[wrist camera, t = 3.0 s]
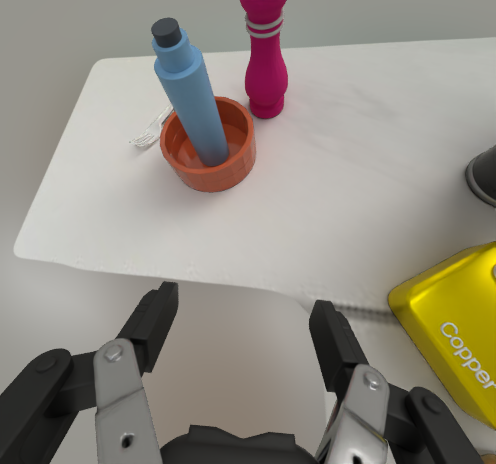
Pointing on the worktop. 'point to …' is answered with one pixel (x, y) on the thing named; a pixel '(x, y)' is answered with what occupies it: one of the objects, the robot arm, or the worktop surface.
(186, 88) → the bottle
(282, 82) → the pepper mill
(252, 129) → the pot
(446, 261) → the element tile
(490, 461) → the pastry
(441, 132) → the worktop surface
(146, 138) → the fork
